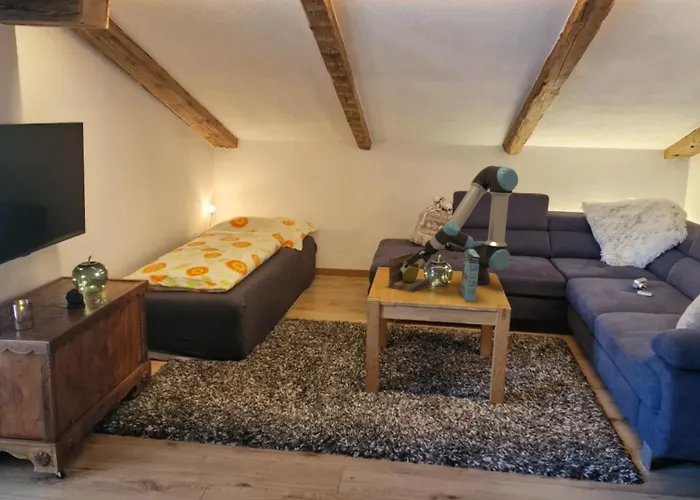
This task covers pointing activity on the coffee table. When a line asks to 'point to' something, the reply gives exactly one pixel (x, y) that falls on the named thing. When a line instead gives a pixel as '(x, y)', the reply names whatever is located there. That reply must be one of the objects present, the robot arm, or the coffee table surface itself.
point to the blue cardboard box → (470, 274)
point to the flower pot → (411, 272)
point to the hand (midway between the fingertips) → (408, 269)
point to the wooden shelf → (397, 278)
